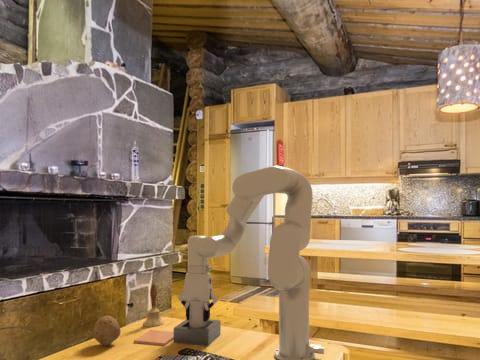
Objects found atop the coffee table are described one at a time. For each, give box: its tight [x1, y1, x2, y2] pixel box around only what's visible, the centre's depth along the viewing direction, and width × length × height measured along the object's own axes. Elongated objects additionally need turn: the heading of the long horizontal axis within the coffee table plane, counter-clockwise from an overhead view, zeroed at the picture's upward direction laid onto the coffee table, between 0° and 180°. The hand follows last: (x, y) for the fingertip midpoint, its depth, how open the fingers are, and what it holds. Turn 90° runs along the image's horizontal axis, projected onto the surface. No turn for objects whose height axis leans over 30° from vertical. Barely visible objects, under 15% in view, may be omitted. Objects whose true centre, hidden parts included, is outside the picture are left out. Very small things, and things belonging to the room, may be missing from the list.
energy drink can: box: [189, 297, 206, 329], centre depth 140 cm, size 6×6×15 cm
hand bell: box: [142, 283, 165, 328], centre depth 158 cm, size 8×8×16 cm
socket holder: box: [172, 318, 221, 347], centre depth 140 cm, size 13×13×5 cm
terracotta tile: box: [133, 329, 174, 346], centre depth 140 cm, size 12×12×1 cm
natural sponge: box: [92, 315, 121, 347], centre depth 133 cm, size 9×9×10 cm
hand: (197, 319), depth 140 cm, fingers closed on energy drink can, 6 cm apart
